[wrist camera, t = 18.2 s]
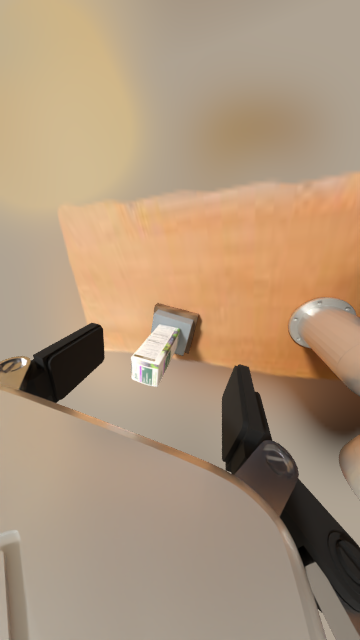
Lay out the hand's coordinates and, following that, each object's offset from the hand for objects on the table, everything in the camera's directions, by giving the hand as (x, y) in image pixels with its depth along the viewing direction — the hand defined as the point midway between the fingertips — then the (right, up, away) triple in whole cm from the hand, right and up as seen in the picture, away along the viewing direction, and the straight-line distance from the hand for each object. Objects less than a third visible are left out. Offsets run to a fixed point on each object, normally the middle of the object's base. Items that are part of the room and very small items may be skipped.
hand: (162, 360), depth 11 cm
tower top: (-1, 0, +34) cm, 34 cm away
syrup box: (-2, -1, +31) cm, 31 cm away
